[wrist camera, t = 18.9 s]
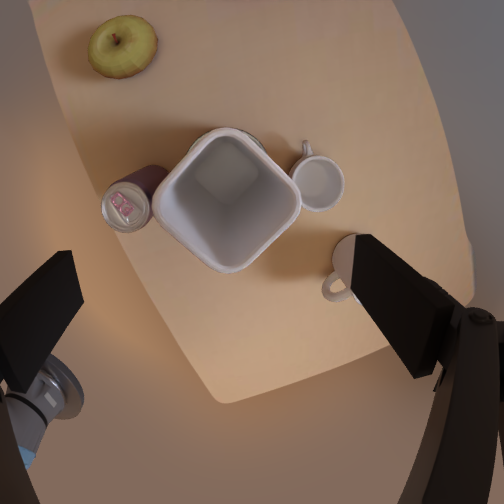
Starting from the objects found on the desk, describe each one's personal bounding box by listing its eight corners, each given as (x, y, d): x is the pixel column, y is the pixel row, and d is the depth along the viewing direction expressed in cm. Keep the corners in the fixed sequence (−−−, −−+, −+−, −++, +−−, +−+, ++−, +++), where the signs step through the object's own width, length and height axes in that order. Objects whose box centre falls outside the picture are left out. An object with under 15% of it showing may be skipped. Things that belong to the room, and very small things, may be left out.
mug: (325, 297, 55) (343, 330, 46) (303, 261, 52) (319, 291, 43) (381, 261, 54) (409, 287, 44) (363, 222, 51) (392, 244, 41)
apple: (143, 12, 36) (129, -6, 28) (173, 57, 39) (163, 44, 32) (90, 49, 37) (68, 38, 29) (118, 94, 40) (98, 89, 33)
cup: (176, 174, 32) (139, 208, 18) (225, 122, 30) (224, 114, 16) (227, 220, 34) (229, 285, 20) (276, 171, 32) (314, 202, 19)
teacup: (337, 196, 49) (349, 204, 44) (290, 208, 49) (298, 218, 44) (323, 134, 45) (335, 135, 40) (274, 145, 45) (280, 147, 40)
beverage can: (154, 156, 44) (124, 168, 30) (181, 185, 46) (162, 209, 32) (127, 183, 45) (89, 207, 31) (153, 211, 47) (125, 245, 33)
